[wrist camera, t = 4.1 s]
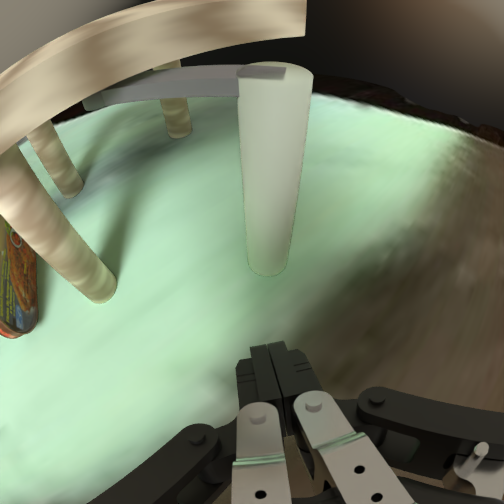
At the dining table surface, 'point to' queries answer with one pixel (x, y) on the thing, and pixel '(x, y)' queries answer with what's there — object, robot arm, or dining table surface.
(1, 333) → the tin
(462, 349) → the dining table surface
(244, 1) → the stool
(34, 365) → the dining table surface
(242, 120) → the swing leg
